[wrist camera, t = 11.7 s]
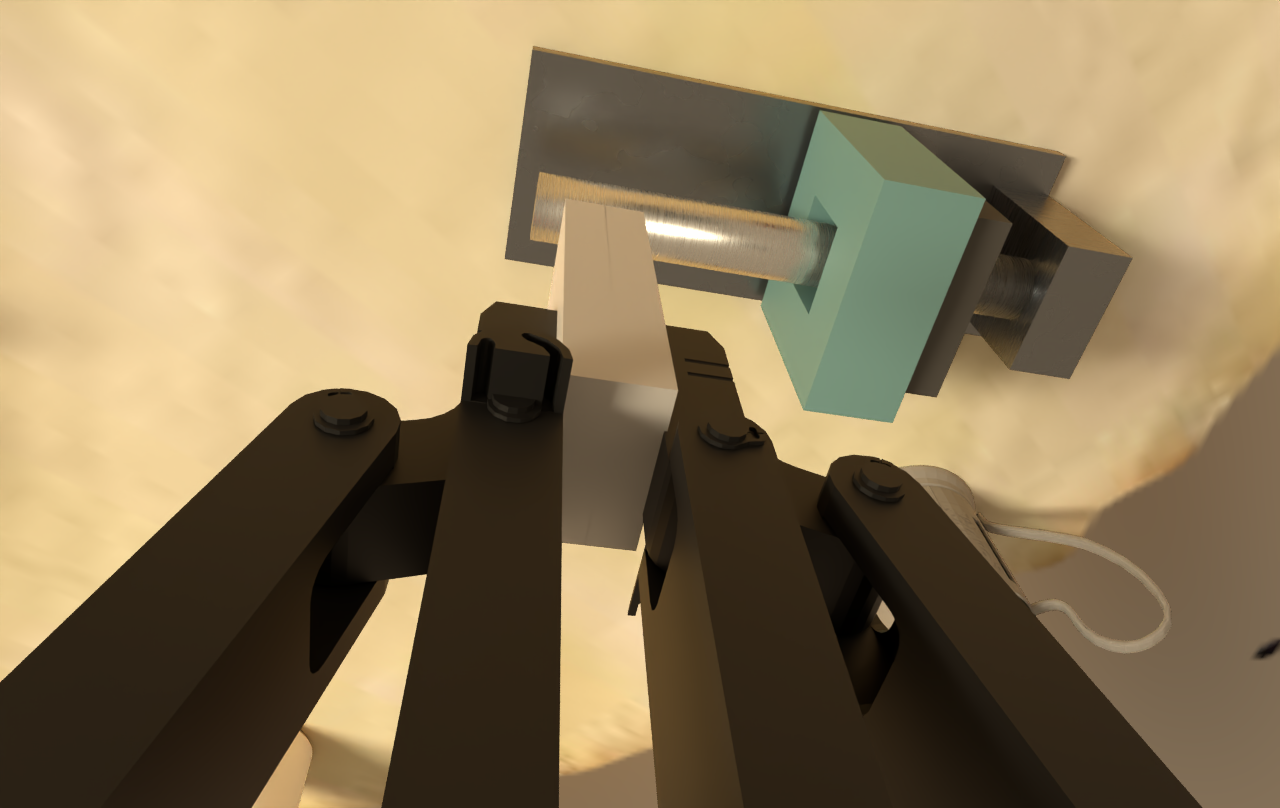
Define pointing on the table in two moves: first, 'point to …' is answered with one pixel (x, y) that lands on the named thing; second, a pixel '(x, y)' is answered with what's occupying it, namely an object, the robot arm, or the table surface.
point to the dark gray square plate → (960, 301)
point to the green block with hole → (869, 265)
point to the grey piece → (784, 197)
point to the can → (288, 777)
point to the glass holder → (961, 511)
